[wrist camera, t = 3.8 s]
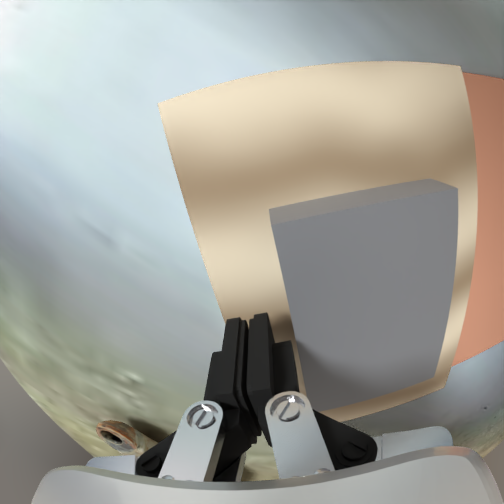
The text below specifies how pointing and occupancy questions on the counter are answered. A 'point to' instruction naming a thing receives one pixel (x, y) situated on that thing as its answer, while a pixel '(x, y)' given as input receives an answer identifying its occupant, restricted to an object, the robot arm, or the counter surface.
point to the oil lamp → (124, 438)
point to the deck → (318, 174)
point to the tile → (368, 286)
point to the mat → (486, 220)
